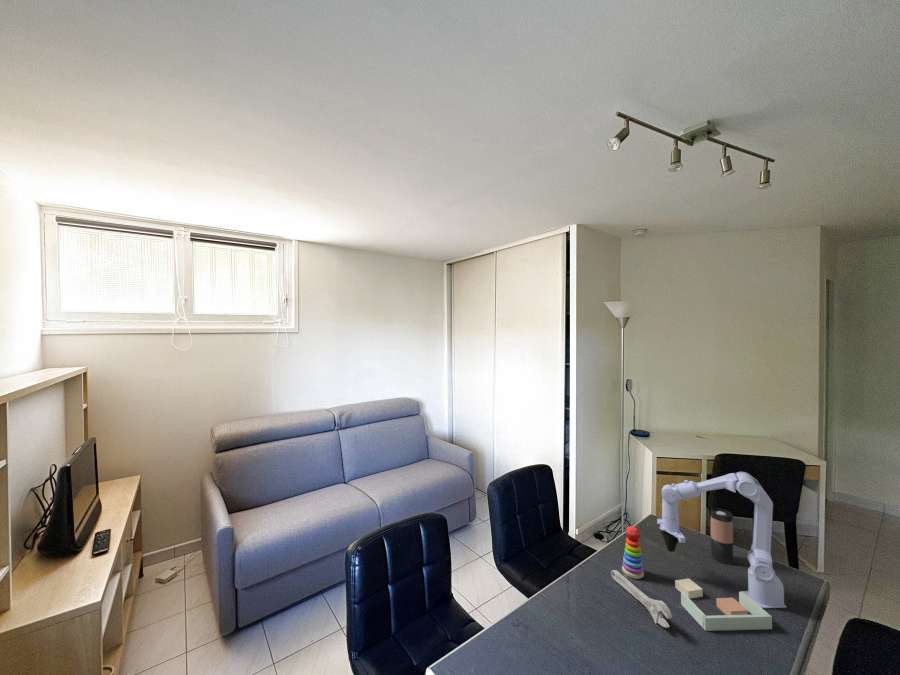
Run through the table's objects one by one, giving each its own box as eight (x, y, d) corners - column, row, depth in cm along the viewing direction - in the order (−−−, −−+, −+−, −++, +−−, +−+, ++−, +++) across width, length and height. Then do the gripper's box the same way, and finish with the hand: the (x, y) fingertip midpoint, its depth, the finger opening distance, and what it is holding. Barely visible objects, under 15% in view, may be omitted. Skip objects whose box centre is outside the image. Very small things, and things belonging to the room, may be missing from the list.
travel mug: (738, 564, 147) (737, 516, 147) (719, 564, 147) (718, 516, 147) (724, 553, 154) (723, 507, 155) (706, 553, 154) (705, 507, 155)
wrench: (615, 583, 140) (674, 636, 111) (611, 584, 140) (669, 637, 110) (614, 561, 141) (671, 608, 112) (609, 562, 141) (666, 609, 112)
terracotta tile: (732, 606, 124) (732, 597, 124) (748, 619, 118) (747, 610, 118) (716, 606, 124) (716, 598, 124) (731, 620, 118) (730, 611, 118)
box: (742, 602, 125) (741, 591, 125) (772, 629, 114) (772, 616, 114) (681, 604, 125) (680, 592, 125) (705, 630, 113) (705, 618, 113)
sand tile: (688, 586, 134) (688, 578, 135) (702, 597, 129) (702, 589, 129) (675, 588, 133) (675, 580, 133) (688, 599, 128) (688, 591, 128)
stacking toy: (617, 570, 144) (616, 524, 144) (631, 565, 147) (630, 519, 147) (634, 582, 136) (634, 533, 137) (648, 576, 140) (648, 528, 140)
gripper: (649, 508, 149) (650, 540, 148) (672, 526, 134) (672, 562, 134) (666, 508, 149) (666, 540, 148) (690, 525, 134) (691, 561, 134)
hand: (670, 550), depth 141 cm, fingers closed
